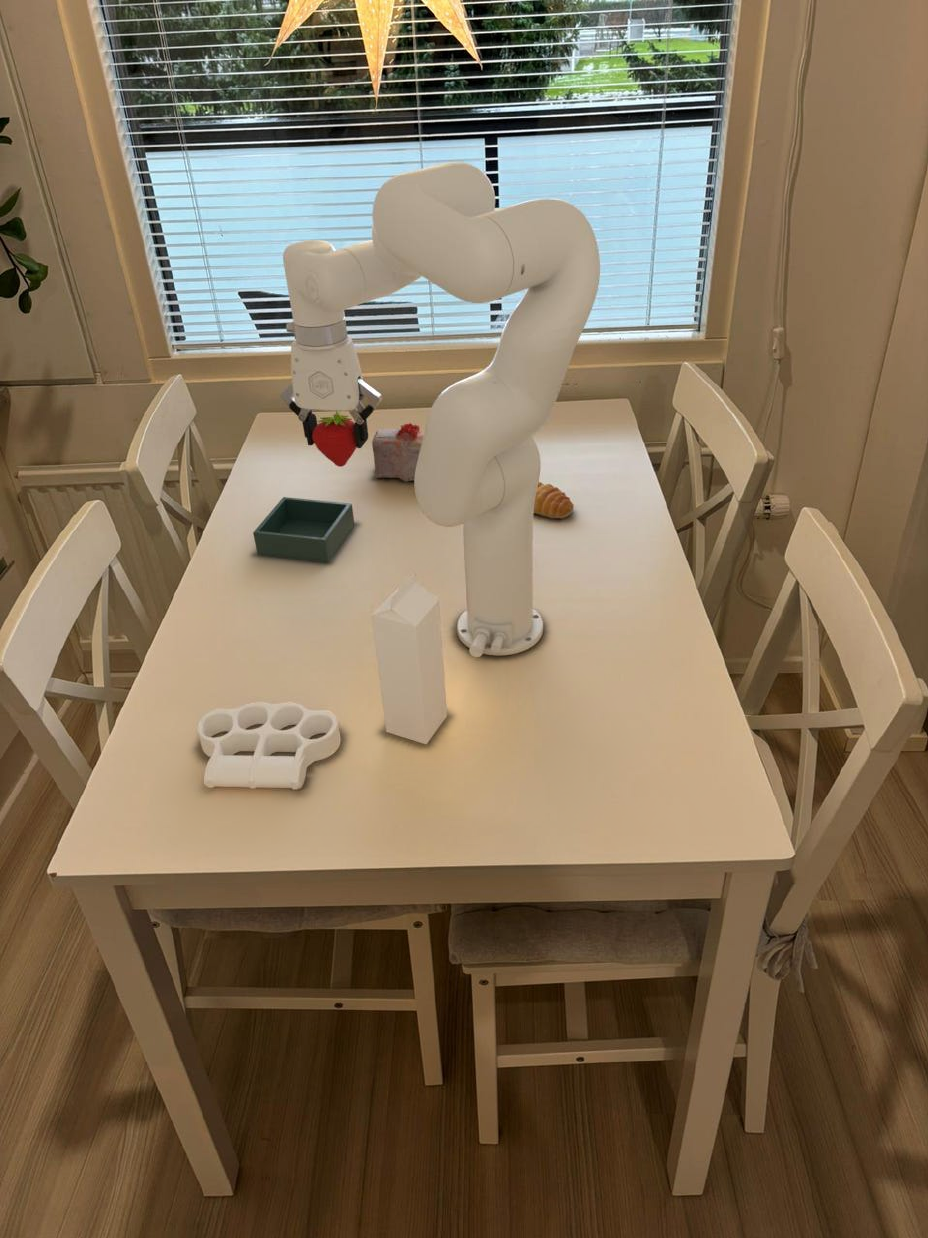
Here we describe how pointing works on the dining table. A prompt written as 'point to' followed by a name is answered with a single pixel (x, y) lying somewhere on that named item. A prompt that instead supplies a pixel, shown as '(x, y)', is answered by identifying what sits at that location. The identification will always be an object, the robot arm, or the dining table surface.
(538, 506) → the pastry
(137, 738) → the dining table surface
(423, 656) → the milk
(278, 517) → the open box
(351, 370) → the robot arm
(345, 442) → the strawberry
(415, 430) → the food item
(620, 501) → the dining table surface
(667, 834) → the dining table surface
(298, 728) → the white brass knuckles
